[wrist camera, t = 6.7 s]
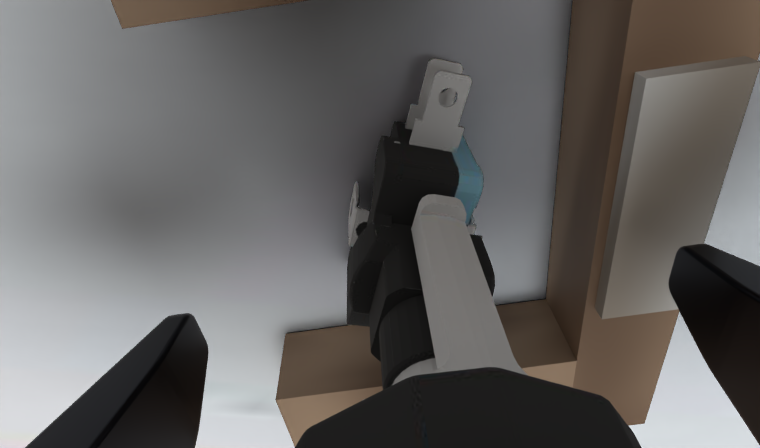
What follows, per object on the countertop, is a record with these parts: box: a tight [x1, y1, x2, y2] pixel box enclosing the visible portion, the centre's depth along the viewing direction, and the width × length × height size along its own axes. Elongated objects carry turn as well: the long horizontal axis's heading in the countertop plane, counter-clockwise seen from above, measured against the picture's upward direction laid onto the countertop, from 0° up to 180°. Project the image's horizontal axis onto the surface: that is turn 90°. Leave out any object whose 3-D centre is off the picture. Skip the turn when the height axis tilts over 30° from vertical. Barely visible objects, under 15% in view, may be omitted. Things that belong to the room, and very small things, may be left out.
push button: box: [295, 58, 641, 448], centre depth 8 cm, size 7×5×10 cm
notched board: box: [111, 0, 760, 446], centre depth 11 cm, size 11×17×3 cm, turn 7°
